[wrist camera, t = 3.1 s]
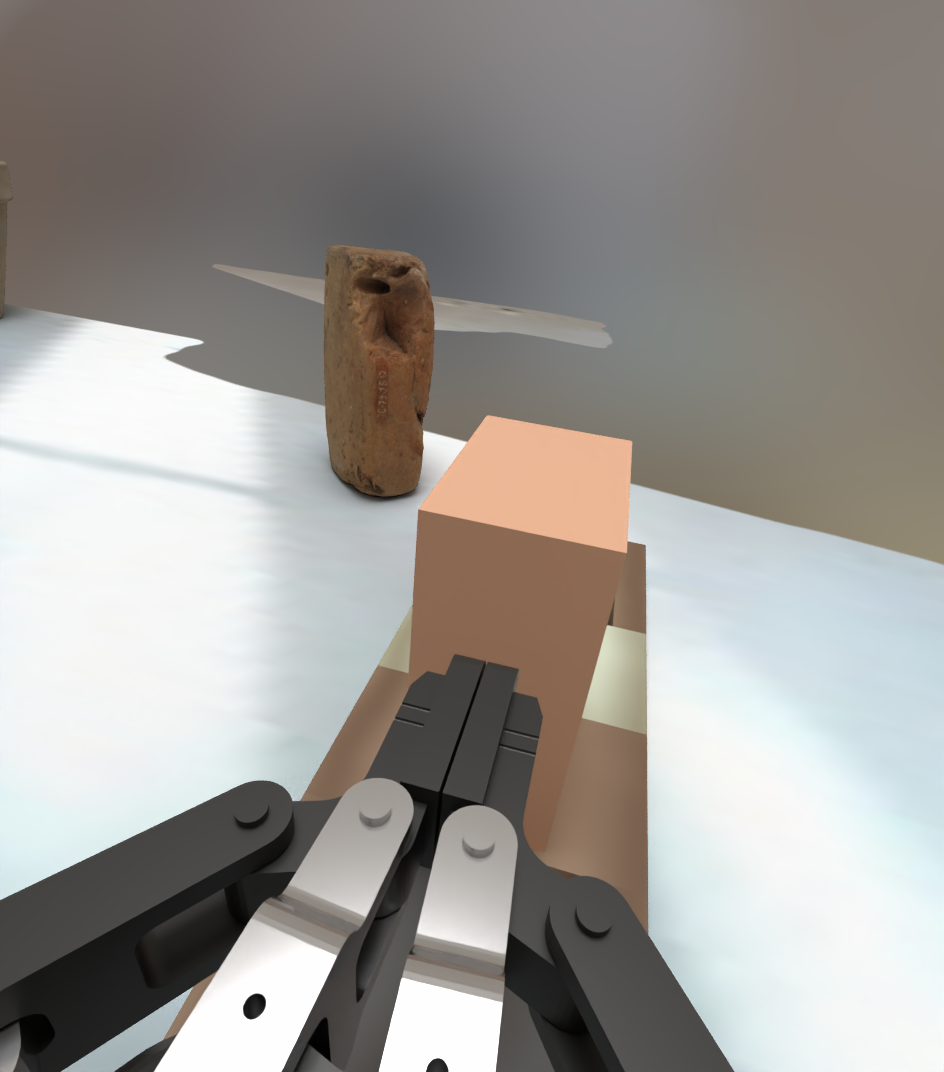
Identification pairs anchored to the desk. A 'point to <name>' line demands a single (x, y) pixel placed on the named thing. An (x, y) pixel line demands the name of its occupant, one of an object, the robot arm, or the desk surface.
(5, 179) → the plant pot
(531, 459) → the block
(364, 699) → the track
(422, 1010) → the robot arm
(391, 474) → the block
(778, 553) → the desk surface
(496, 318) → the desk surface
